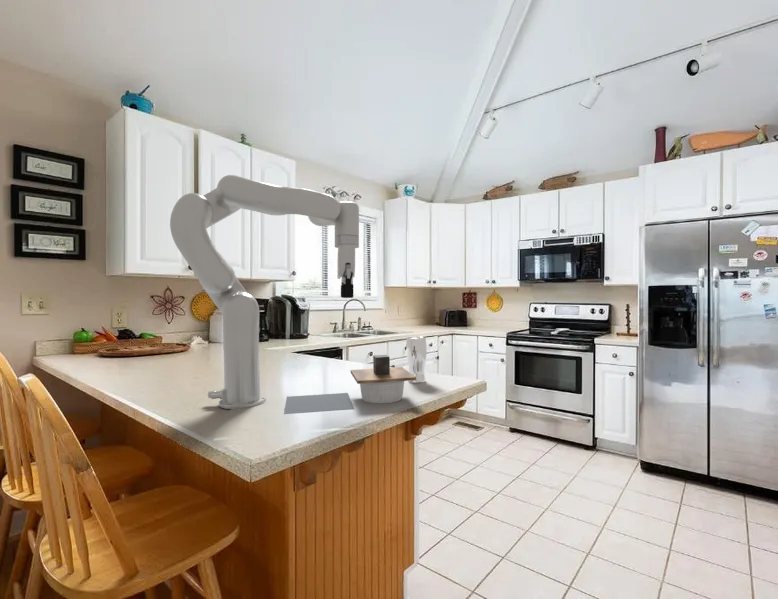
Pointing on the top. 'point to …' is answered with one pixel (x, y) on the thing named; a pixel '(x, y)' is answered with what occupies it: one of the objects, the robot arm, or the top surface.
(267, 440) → the top surface
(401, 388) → the ramekin
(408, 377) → the lid
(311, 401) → the mat
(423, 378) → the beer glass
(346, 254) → the robot arm
